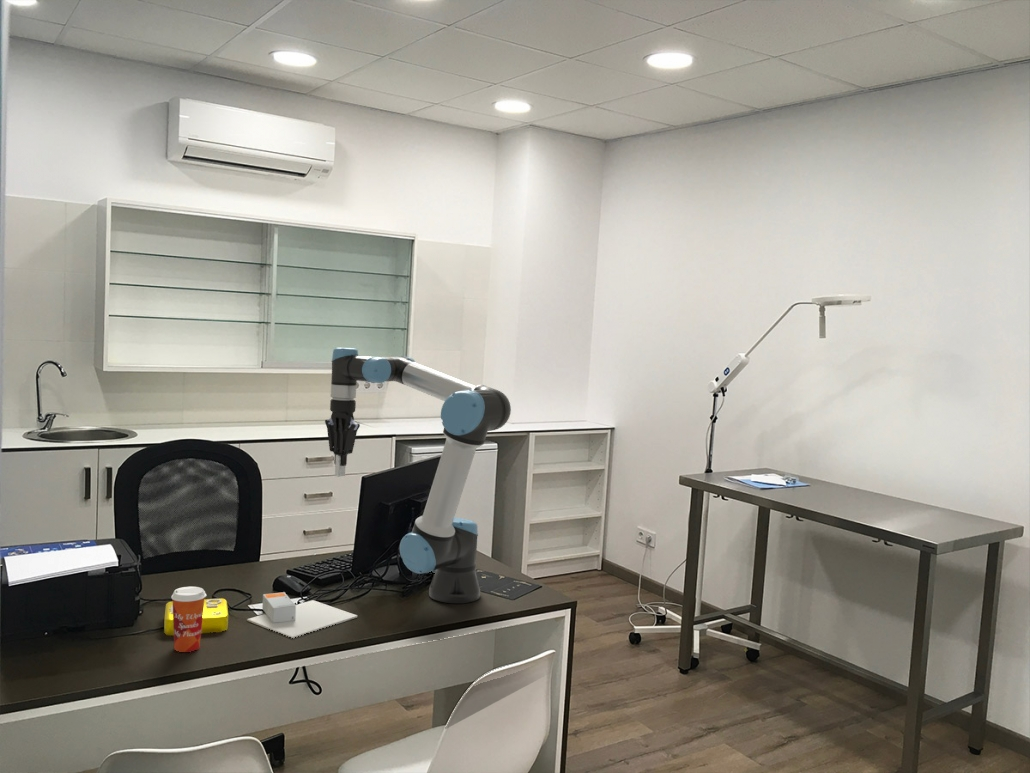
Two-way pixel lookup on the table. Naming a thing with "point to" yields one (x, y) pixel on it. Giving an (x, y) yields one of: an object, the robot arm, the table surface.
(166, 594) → the table surface
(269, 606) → the skincare box
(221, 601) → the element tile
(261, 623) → the mat
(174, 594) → the paper cup
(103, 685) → the table surface
